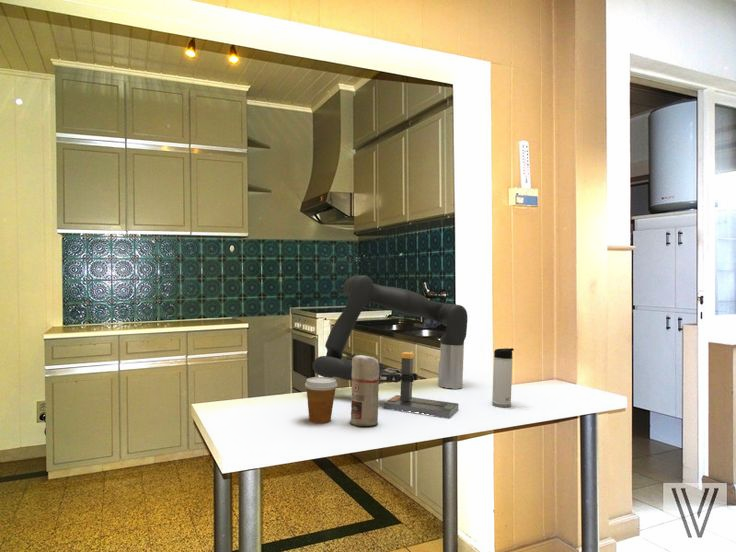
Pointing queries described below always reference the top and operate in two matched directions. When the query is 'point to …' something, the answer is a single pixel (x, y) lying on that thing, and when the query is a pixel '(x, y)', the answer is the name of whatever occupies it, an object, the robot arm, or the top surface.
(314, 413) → the disposable coffee cup
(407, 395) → the lever
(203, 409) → the top surface
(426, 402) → the switch base
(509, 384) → the travel mug
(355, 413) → the spray can
